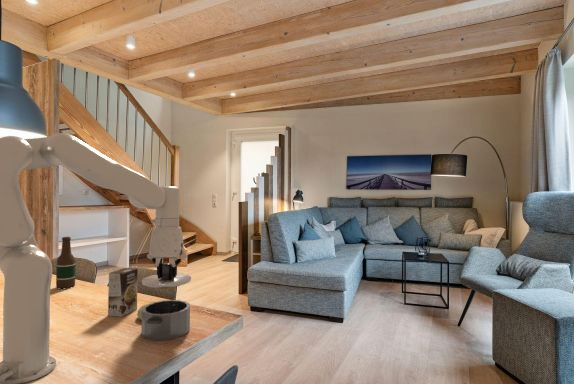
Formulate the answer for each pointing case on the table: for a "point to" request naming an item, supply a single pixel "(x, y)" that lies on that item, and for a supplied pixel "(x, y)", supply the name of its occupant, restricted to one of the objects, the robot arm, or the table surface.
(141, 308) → the sea urchin shell
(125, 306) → the coffee box
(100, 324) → the table surface
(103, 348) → the table surface
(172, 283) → the lid
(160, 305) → the pot
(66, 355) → the table surface
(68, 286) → the beer bottle
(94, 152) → the robot arm
